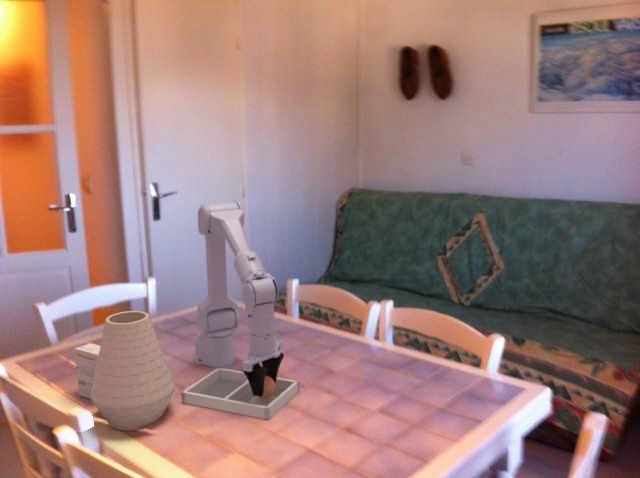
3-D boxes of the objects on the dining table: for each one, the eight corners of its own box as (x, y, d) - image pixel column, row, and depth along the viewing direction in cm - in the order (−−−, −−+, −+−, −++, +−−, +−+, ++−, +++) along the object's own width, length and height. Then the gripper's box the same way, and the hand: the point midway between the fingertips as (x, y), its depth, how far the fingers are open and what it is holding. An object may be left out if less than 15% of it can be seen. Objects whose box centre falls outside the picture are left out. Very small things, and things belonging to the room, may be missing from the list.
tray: (182, 406, 146) (181, 392, 146) (218, 381, 160) (218, 367, 159) (268, 424, 137) (267, 408, 137) (299, 395, 151) (299, 381, 150)
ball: (249, 400, 144) (248, 379, 143) (260, 391, 149) (259, 370, 148) (269, 403, 142) (268, 382, 141) (279, 394, 147) (278, 373, 146)
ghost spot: (245, 404, 144) (245, 403, 144) (259, 393, 150) (259, 392, 150) (270, 409, 142) (270, 408, 142) (284, 397, 147) (284, 396, 147)
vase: (133, 446, 129) (123, 336, 125) (75, 426, 138) (65, 322, 134) (193, 411, 144) (187, 311, 139) (138, 394, 153) (130, 300, 148)
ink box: (119, 395, 153) (115, 348, 150) (102, 403, 149) (97, 355, 146) (94, 388, 157) (90, 341, 155) (77, 395, 153) (72, 348, 151)
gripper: (261, 345, 134) (264, 406, 137) (293, 323, 147) (294, 380, 150) (232, 341, 137) (235, 401, 140) (265, 320, 150) (267, 375, 153)
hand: (264, 389), depth 145 cm, fingers open, 5 cm apart
